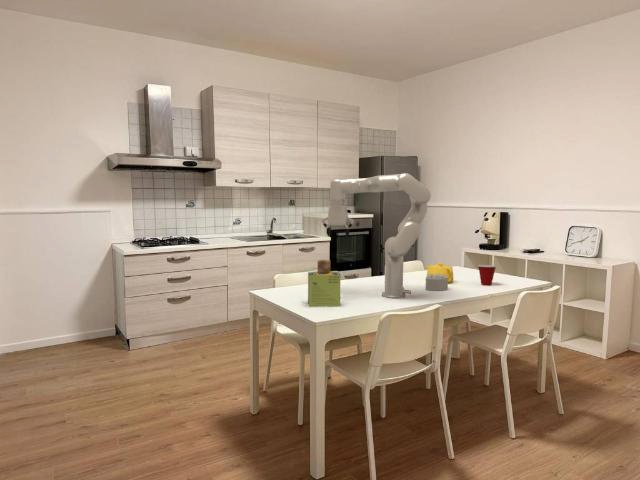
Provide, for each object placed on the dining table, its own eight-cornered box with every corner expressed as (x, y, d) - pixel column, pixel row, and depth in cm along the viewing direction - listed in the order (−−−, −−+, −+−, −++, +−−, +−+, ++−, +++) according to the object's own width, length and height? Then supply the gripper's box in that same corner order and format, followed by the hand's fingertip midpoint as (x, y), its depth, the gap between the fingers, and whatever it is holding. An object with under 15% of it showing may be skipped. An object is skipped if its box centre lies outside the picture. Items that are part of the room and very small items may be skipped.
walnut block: (330, 272, 217) (330, 260, 216) (327, 273, 212) (327, 261, 212) (320, 271, 218) (320, 259, 218) (317, 273, 214) (317, 261, 213)
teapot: (419, 279, 282) (420, 261, 281) (433, 278, 289) (433, 260, 288) (444, 285, 266) (445, 265, 265) (458, 283, 273) (458, 264, 271)
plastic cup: (491, 282, 274) (492, 263, 272) (498, 286, 263) (499, 266, 262) (473, 282, 273) (474, 263, 272) (480, 286, 263) (481, 266, 261)
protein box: (340, 306, 212) (340, 274, 211) (308, 306, 211) (308, 274, 210) (338, 301, 223) (338, 270, 221) (307, 301, 221) (307, 271, 220)
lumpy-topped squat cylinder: (450, 289, 253) (450, 274, 252) (435, 292, 245) (436, 277, 244) (435, 286, 261) (435, 272, 260) (420, 289, 253) (421, 274, 252)
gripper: (355, 203, 230) (355, 235, 232) (323, 203, 235) (323, 235, 236) (352, 203, 223) (352, 237, 224) (319, 203, 227) (320, 236, 229)
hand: (337, 236), depth 230 cm, fingers open, 9 cm apart
